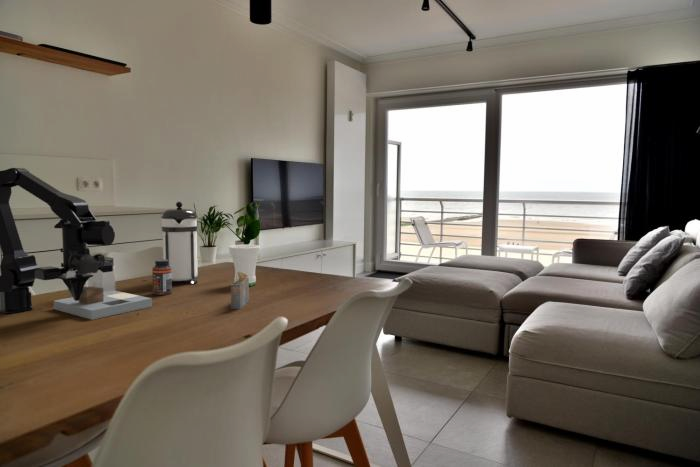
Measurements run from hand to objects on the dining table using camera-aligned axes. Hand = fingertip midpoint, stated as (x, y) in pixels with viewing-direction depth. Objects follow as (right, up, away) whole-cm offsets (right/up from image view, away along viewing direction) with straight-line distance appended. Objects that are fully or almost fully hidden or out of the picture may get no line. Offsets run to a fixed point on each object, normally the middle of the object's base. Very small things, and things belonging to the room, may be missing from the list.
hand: (76, 300), depth 137 cm
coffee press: (+12, 0, +48) cm, 50 cm away
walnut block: (+2, -1, +3) cm, 4 cm away
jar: (-5, -2, +24) cm, 24 cm away
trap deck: (+4, -3, +7) cm, 9 cm away
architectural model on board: (+43, -4, +13) cm, 45 cm away
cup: (+38, 0, +43) cm, 57 cm away
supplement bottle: (+14, -2, +27) cm, 30 cm away
